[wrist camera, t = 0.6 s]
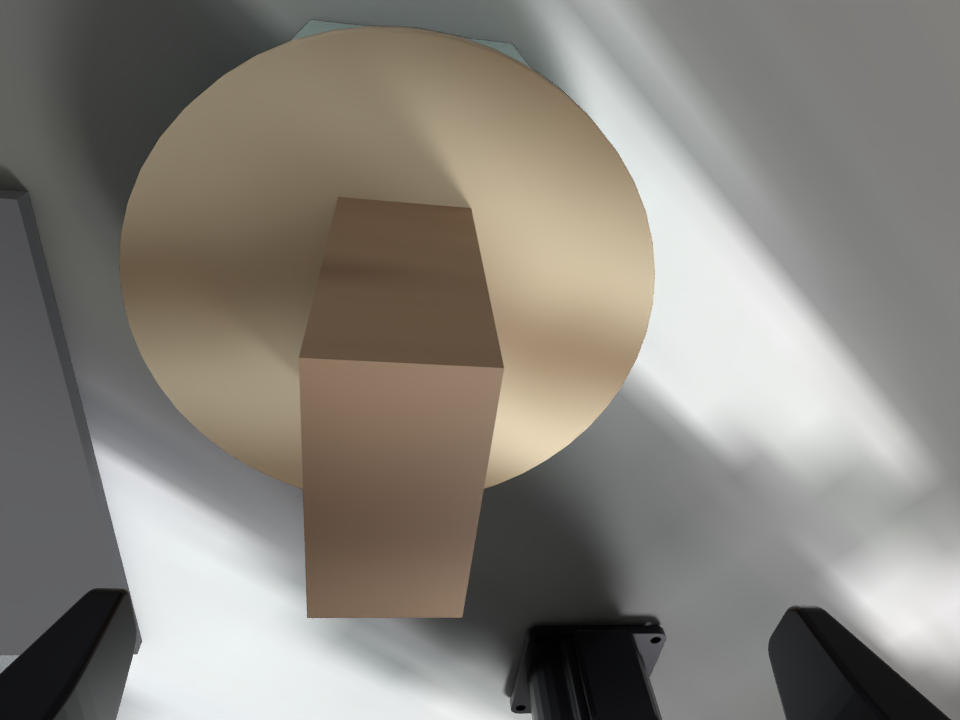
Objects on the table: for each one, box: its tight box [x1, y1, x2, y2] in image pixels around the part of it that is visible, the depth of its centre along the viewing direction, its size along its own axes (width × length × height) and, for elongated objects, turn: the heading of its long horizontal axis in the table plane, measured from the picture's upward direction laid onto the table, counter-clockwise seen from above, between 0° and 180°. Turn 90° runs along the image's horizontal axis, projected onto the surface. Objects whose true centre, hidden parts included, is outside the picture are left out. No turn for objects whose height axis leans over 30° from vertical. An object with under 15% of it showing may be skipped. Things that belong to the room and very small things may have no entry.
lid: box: [119, 26, 655, 618], centre depth 15 cm, size 13×13×7 cm
